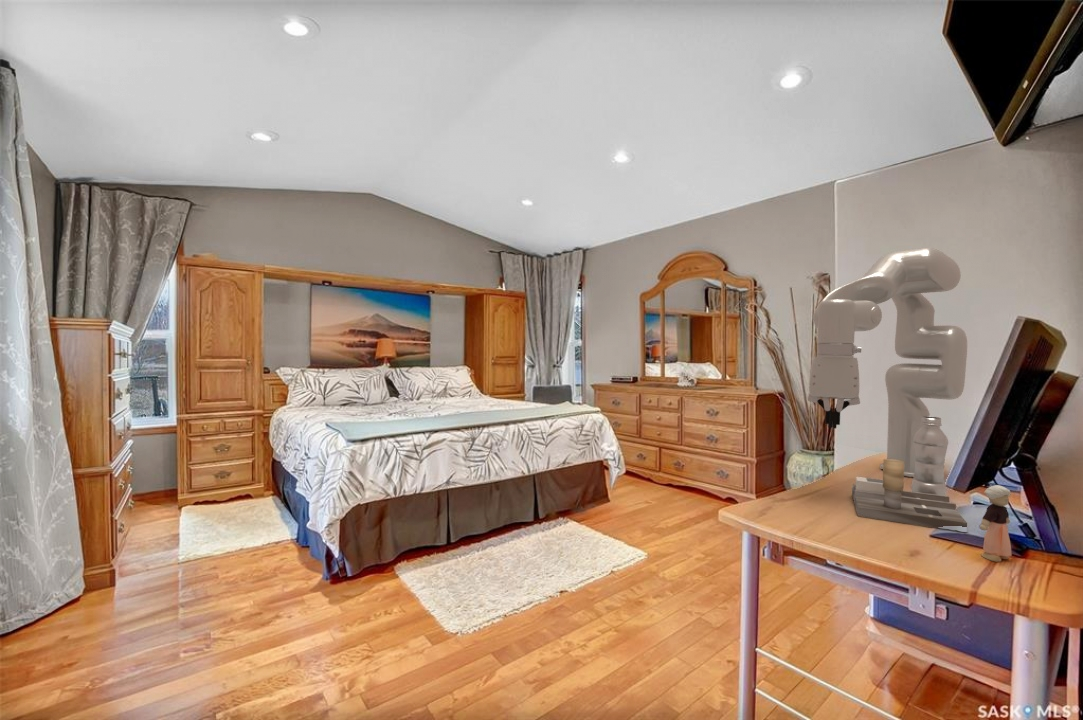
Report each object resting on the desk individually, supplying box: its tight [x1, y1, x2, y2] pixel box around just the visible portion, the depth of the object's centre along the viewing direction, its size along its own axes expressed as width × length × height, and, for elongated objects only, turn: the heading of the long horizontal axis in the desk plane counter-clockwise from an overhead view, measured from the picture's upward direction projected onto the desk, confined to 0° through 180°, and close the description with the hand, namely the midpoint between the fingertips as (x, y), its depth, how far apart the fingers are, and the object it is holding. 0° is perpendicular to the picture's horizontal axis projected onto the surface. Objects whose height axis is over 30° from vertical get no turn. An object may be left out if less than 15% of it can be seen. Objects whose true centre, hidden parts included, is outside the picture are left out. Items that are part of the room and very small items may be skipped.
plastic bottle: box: [910, 415, 949, 496], centre depth 112 cm, size 6×7×20 cm
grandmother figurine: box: [979, 484, 1013, 563], centre depth 83 cm, size 8×4×13 cm, turn 123°
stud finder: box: [855, 476, 884, 494], centre depth 110 cm, size 4×6×3 cm, turn 60°
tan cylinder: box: [882, 458, 905, 509], centre depth 102 cm, size 4×4×10 cm
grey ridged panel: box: [851, 483, 968, 529], centre depth 105 cm, size 16×18×3 cm
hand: (832, 427), depth 114 cm, fingers closed
